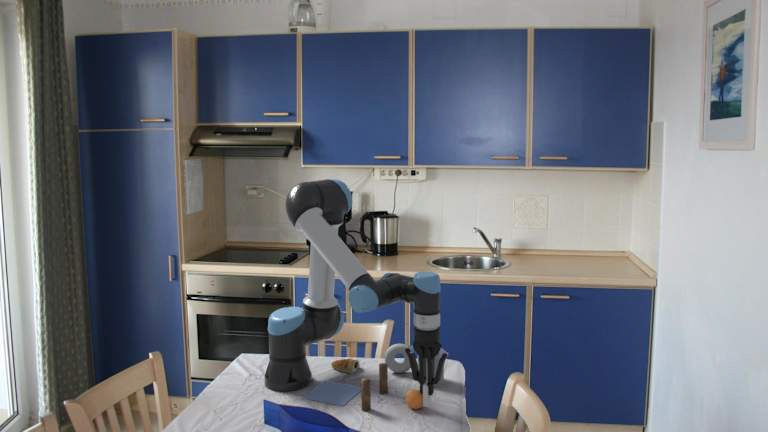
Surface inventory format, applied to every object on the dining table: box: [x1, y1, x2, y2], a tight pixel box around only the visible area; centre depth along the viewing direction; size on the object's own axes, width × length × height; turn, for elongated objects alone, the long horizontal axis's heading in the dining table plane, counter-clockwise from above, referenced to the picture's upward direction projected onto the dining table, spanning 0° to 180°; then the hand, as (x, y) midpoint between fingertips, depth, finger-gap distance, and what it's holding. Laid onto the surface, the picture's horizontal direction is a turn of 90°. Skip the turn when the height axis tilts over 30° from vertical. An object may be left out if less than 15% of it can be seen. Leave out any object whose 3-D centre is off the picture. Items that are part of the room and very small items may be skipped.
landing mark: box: [302, 380, 361, 407], centre depth 204 cm, size 14×14×1 cm
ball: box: [405, 389, 424, 410], centre depth 193 cm, size 6×6×6 cm
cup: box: [416, 352, 445, 388], centre depth 212 cm, size 8×8×10 cm
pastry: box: [330, 358, 361, 374], centre depth 224 cm, size 9×7×4 cm
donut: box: [384, 343, 411, 374], centre depth 219 cm, size 10×4×10 cm, turn 86°
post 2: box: [378, 362, 389, 395], centre depth 204 cm, size 3×3×9 cm
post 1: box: [360, 377, 372, 412], centre depth 192 cm, size 3×3×9 cm
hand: (426, 404), depth 192 cm, fingers closed
